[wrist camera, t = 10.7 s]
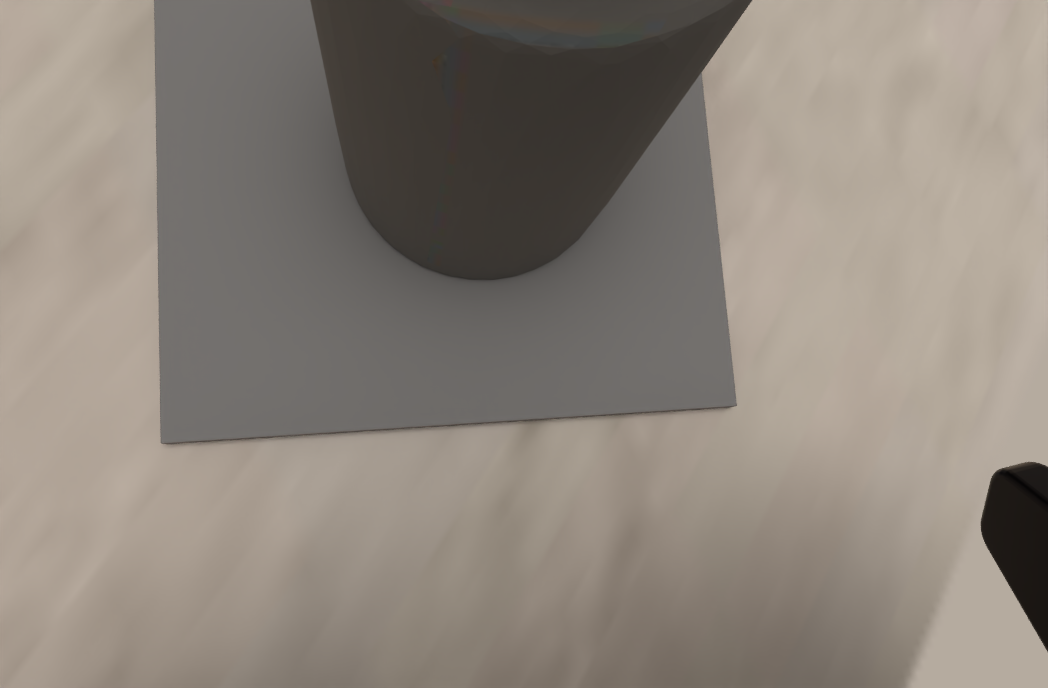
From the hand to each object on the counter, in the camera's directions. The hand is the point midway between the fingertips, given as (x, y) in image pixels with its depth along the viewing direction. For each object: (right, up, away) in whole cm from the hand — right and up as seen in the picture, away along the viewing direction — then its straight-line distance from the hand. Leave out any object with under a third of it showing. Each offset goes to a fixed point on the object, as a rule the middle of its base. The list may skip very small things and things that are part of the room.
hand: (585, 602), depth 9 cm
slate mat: (-2, +7, +11) cm, 13 cm away
